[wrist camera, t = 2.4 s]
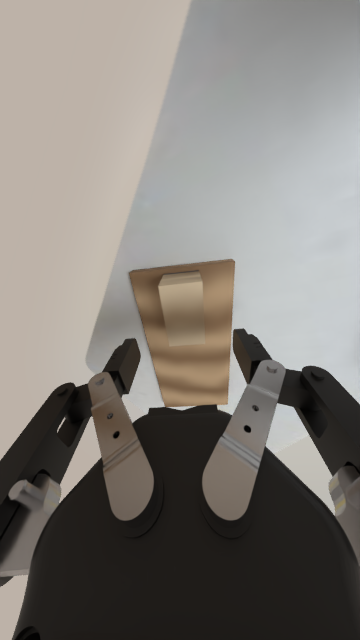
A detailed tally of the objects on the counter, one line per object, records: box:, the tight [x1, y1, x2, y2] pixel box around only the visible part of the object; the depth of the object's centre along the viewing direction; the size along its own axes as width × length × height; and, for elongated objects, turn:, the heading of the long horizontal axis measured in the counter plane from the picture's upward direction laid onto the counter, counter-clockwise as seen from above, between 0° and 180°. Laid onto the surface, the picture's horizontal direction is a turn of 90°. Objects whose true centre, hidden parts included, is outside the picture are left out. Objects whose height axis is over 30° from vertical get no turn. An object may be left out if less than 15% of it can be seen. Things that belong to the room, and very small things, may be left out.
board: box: [129, 259, 235, 407], centre depth 25 cm, size 26×12×2 cm, turn 7°
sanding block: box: [158, 270, 205, 346], centre depth 18 cm, size 7×4×4 cm, turn 7°
